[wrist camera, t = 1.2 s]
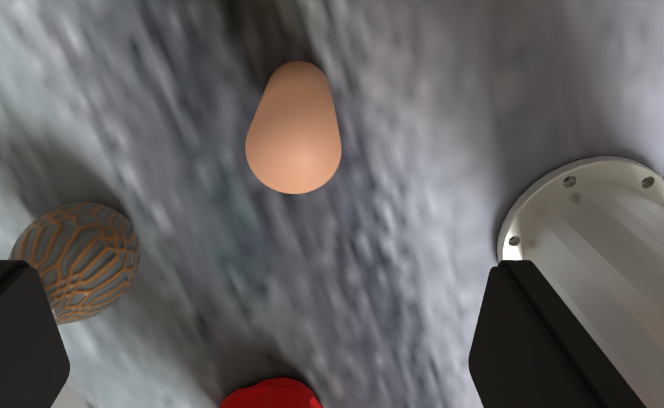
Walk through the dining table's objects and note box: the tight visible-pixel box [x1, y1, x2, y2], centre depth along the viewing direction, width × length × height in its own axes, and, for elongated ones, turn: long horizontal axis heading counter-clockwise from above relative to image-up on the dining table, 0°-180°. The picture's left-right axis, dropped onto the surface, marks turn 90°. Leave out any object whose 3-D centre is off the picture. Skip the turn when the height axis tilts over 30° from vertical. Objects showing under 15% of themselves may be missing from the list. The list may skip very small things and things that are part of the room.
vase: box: [8, 202, 140, 326], centre depth 27 cm, size 7×7×9 cm
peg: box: [245, 61, 341, 194], centre depth 23 cm, size 4×4×10 cm
